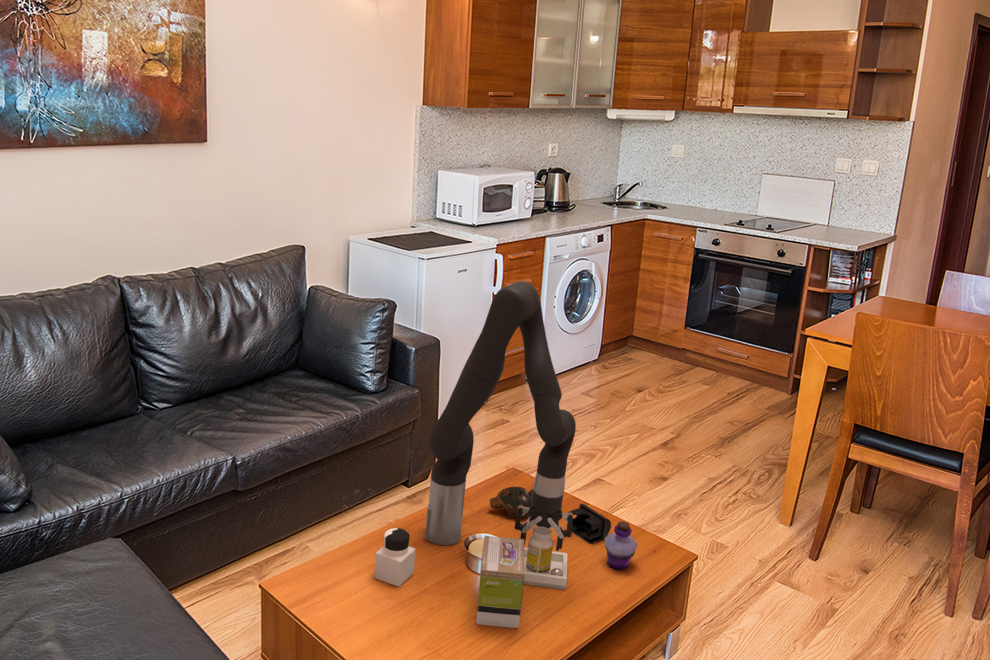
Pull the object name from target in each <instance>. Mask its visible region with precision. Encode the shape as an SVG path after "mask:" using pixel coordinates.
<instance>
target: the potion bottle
mask: <svg viewBox="0 0 990 660" xmlns="http://www.w3.org/2000/svg"><path fill="white" fill-rule="evenodd" d="M613 531H614V532H611V533H610V532H609V533H608V535H607V536H606V537H605V538H604V544H605V545H604V547H605V549H606V558H607V559H606V560H607V561H606V564H607V566H608V567H609V568H610V569H613V570H615V571H625V570H627V568H629V564H630V562H631V558H633V557H634V556H635V553H636V551H637V548H638V545H639V544H638V542H637V541H636V539H635V538H634V537H633V536H631V535H632V528H631V526H630V523H628V522H627V521H622V520H621V521H618V522H617V525H615V526H614V530H613Z"/></svg>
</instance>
